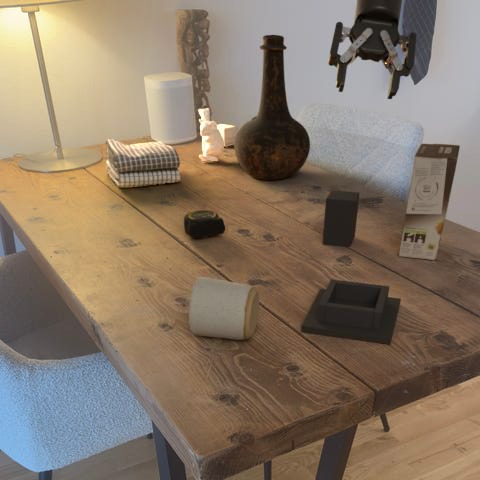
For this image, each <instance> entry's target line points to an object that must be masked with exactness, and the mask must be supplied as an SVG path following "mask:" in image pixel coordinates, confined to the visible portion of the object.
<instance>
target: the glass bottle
mask: <svg viewBox="0 0 480 480" xmlns="http://www.w3.org/2000/svg"><path fill="white" fill-rule="evenodd" d="M262 42H263V44H262V45H260V46H259V49H260V50H262V51H263V55H262V56H263V57H262V77H261V79H262V80H261V92H260V102H259V109H258V112H257V115H256V116H253V117H251V119H250V120H249V121H247V122H245V123H244V124H243V125H241V127H240V128H239V129H238V130H237V135H236V138H235V144H234V145H233V147H234V153H235V156H236V159H237V161H238V163H239V165H240V166H241V168H242V169H243V170H244V172H246V173H247V174H248V175H249V176H251V177H253V179H258V180H264V181H278V180H284V179H287V178H290V177H292V176H293V175H296V173H298V172H299V171H300V170H301V169H302V167H303V166H304V165H305V163H306V161H307V159H308V157H309V155H310V150H311V140H310V139H311V138H310V136H309V132H308V131H307V129H306V128H305V127H304V126H303V124H301V123H300V121H298V120H296V119H295V118H294V117H292V115H291V113H290V110H289V105H288V100H287V92H286V79H285V55H284V53H285V52H284V51H285V50H287V49H288V48H287V46H286V45H285V43H284V42H285V36H283V35H280V34H279V35H278V34H265V35H263V36H262Z"/></svg>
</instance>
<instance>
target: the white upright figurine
mask: <svg viewBox="0 0 480 480" xmlns="http://www.w3.org/2000/svg"><path fill="white" fill-rule="evenodd" d="M197 111H198V114H199V116H200V117H201V118H199V119H198V122H199V123H200V126H199V129H200V130H199V131H200V132H199V135H200V136H201V138H202V139H201V150H202V154H199V155H198V158H199V159H200V160H201V162H202V161H207V160H211V161H218V162H219V156H220V155H221V154H223V152H224V150H225V148H224V140H223V138H222V136H221V134H220V131H219V130H218V129H217V125H218V124H217V122H216V121H214V120H211V112H210V111H211V109H210V108H209V107H206V108H199V109H198V110H197Z"/></svg>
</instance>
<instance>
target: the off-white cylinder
mask: <svg viewBox="0 0 480 480" xmlns="http://www.w3.org/2000/svg"><path fill="white" fill-rule="evenodd" d="M189 297H190V298H189V303H188V325H189V329H190V332H191V334H192V335H194V336H200V337H201V336H202V337H208V338H209V337H210V338H218V339H228V340H236V341H242V340H243V341H244V340H245V341H246V340H249V339H251V337H253V335H254V334H255V331H256V328H257V324H258V319H259V313H260V293H259V291H258V290H257V288H256V287H254V286H251V285H248V284H247V283H241V282H233V281H230V280H229V281H228V280H224V279H223V280H222V279H217V278H211V277H206V276H199V277H198V278H197V279H196V280H195V282H194V284H193V286H192V289H191V293H190V296H189Z"/></svg>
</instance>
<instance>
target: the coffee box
mask: <svg viewBox="0 0 480 480" xmlns="http://www.w3.org/2000/svg"><path fill="white" fill-rule="evenodd" d="M460 147H461V146H460V145H459V144H445V143H421V144H420V145H419V146H418V149H417V150H416V152H415V155H414V159H413V166H412V172H411V173H412V174H411V178H410V179H411V180H410V184H409V192H408V197H407V204H406V210H405V216H404V222H403V227H402V233H401V238H400V246H399V252H398V256H399V257H402V258H412V259H421V260H429V261H435V260H436V258H437V255H438V251H439V247H440V243H441V239H442V235H443V234H442V233H443V231H444V226H445V223H446V216H447V212H448V208H449V203H450V198H451V193H452V188H453V183H454V178H455V175H456V169H457V163H458V159H459V153H460Z"/></svg>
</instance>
